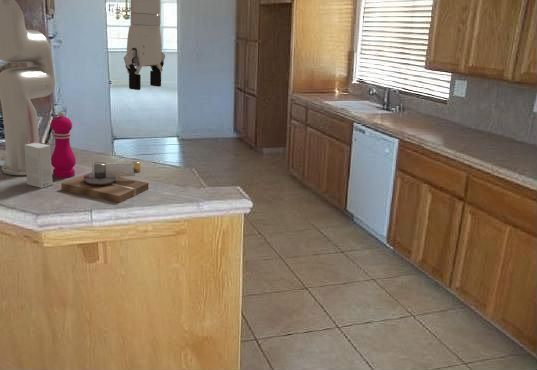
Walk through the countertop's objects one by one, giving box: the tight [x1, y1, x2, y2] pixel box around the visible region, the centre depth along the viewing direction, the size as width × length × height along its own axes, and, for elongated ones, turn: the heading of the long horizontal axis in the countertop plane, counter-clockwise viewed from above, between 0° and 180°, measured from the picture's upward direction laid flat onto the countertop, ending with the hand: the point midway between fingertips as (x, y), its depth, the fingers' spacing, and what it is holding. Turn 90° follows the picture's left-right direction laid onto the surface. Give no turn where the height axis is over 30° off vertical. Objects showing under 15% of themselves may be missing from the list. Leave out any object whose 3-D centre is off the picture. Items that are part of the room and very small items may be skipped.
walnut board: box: [61, 171, 150, 204], centre depth 152 cm, size 20×14×2 cm
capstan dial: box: [84, 160, 141, 186], centre depth 153 cm, size 16×9×5 cm, turn 114°
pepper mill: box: [50, 111, 77, 179], centre depth 159 cm, size 7×7×20 cm
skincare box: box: [24, 142, 53, 189], centre depth 150 cm, size 6×4×12 cm
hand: (145, 87), depth 140 cm, fingers open, 9 cm apart
